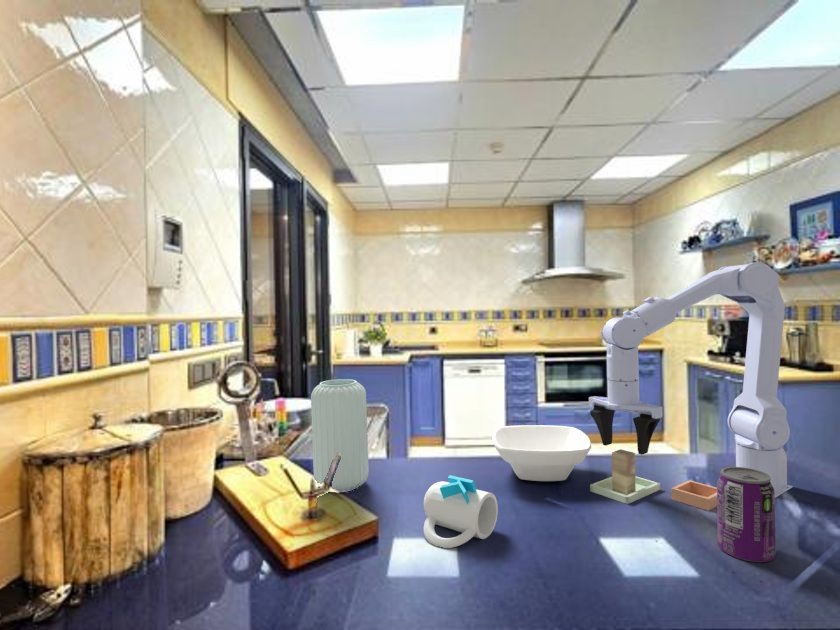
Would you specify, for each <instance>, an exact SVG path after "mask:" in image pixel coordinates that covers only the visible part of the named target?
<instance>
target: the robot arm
mask: <svg viewBox="0 0 840 630" xmlns="http://www.w3.org/2000/svg"><path fill="white" fill-rule="evenodd" d="M779 281H780V274H778V273H777V272H776V271H775V270H774V269H773V268H771V267H770V266H769V265H767V264H766V263H763V262H759V261H757V262H751V263H747V264H738V265H726V266H722V267H720V268H719V269H717V270H713V271H710V272H709V273H707V274H705V275H704V276H702V277H700V278H699V279H697V280H696V281H693V282H692V283H690V284H689V285H687V286H686V287H683V288H682V289H680V290H679V291H677V292H675V293H673V294H672V295H671V296H669V297H667V298H665V297H662V296H661V297H660V296H655V297H653V296H649V297H647V298H645V299H644V300H643V302H644V303H643V304H641V305H639V306H637V307H635V308H633V309H631V310H629V309H627V310H624V311H623V312H622V317H614V318H613V317H612V318H610V319H609V320H607V321H606V323H605V325H603V328H602V331H600V336H601V338H602V340H603V342H604V343H605V344H606V377H607V383H606V384H607V397H605V396H596V395H595V396H594V395H593V396H589V397H588V406H589V407H591V408H592V409H591V410H590V411H589V414H590V416H591V417H592V419H593V420H594V423H595V425H596V427H597V429H598V432H599V435H600V438H601V442H602V446H606V447H607V446H608V445H609V446H610V445H612V443H613V423H614V418H615V412H616V411H617V412H621V413H626V414H627V413H628V414H634V415H639V416H636V417H633V418H632V421H633V423H634V429H635V433H636V438H637V441H636V443H637V444H636V445H637V452H638V455H640V456H641V455H644V454H648V452H649V447H650V443H651V440H652V437H653V434H654V432H655V431H656V428H657V426H658V425H659V423H660V421H661V419H662V418H663V415H664V414H663V406H659V405H654V404H651V403H647V402H644V401H640V373H639V371H640V370H639V368H640V367H639V366H640V365H639V364H640V363H639V346H641V344H642V342H643V341H644V338H647V337H648V336H650V335H652V334H654V333H656V332H658V331H660V330H662V329H664V328H665V327H667V326H669V325H671V324H673V323H674V322H675V320H676V317H677V313H679V312H682V311H684V310H685V309H688V308H689V307H692V306H694V305H696V304H698V303H701V302H703V301H704V300H706V299H709V298H710V297H712V296H715V295H720V296H722V297H724V298H726V299H729V300H731V301H733V302H735V303H737V304H738V305H739V306H740V307H741V308H743V309H744V310H745V311H746V313H748V315H749V317H748V318H749V319H748V327H747V330H748V331H747V337H746V338H747V340H746V351H745V361H744V363H745V364H744V370H743V371H744V372H743V382H742V383H743V384H742V392H741V393H740V394H739V395H738V396H736V398H734V400H733V406H732V409H731V411H730V412H729V414H728V416H727V426H728V429H729V430H730V431H731V432H732V433H733V435H734V440H735V467H744V468H750V469H755V470H758V471H762V472H764V473H766V474H768V475H769V476H770V477H771V480H770V482H771V484H772V486H773V488H774V490H775V499H776V498H777V497H779V496H780V495H782V494H784V493H785V492H787V491H788V490H791V489H792V488H794V486H793V485H790V484H788V471H787V470H788V468H787V467H788V465H787V464H788V457H787V453H786V452H785V449H784V448H783V447H784V445H786V444H787V443H788V441H789V439H790V436H791V428H790V425H789V423H788V422H789V421H788V420H787V419H788V418H787V414H788V412H787V409H786V407H785V406H784V405H783V404H782V403H781V401H780V400H779V398H778V387H779V375H780V374H779V373H780V365H781V354H782V344H783V343H782V342H783V341H782V340H783V331H784V320H785V311H786V310H785V309H786V307H785V306H786V305H785V301H784V298H783V296H782V293H781V291H780V289H779V283H780V282H779Z"/></svg>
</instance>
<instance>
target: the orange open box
mask: <svg viewBox="0 0 840 630" xmlns="http://www.w3.org/2000/svg"><path fill="white" fill-rule="evenodd" d="M670 495H671V496H670V498H671V500H673V501H676V502H679V503H682V504H685V505H689V506H691V507H694V508H697V509H701V510H703V511H707V512H709V511H711V510H713V509H715V508H717V486H712V485H709V484H704V483H701V482H697V481H695V480H690V479H689V480H686V481H685V482H683V483H680V484H677V485H676V486H674V487H673V486H672V487H671V488H670Z"/></svg>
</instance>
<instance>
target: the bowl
mask: <svg viewBox="0 0 840 630" xmlns="http://www.w3.org/2000/svg"><path fill="white" fill-rule="evenodd" d="M491 441H492V443H493V445H494V447H495V449H496V451H497V452H498V453H499V456H500V458H502V459H501V460H503V461H504V462H505V463H509V465H510V466H511V468H512V470H513V472H514V474H515V475H516V476H517V477H518V479H520V480H525V481H533V482H534V481H535V482H557V481H558V482H561V481H566V480H567V478H568V477H569V476H570V474H571V472H572V471H573V469H574V468H575V466H576V465H581V464H582V463H583V461H584V460H585V459H586V457H587V455H588V454H589V452H590V451H591V449H592V441H591V440H590V437H589V436H588V435H587V434H586V433H585V432H583V431H582V430H581V429H578V428H576V427H574V426H565V425H564V426H563V425H547V424H546V425H545V424H544V425H541V424H539V425H537V424H536V425H535V424H534V425H533V424H529V425H528V424H527V425H526V424H524V425H523V424H521V425H505V426H499V427H497V428H496V429H495V430H494V431H493V433H492V436H491Z"/></svg>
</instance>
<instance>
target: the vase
mask: <svg viewBox="0 0 840 630" xmlns="http://www.w3.org/2000/svg"><path fill="white" fill-rule="evenodd" d="M366 391H367V390H366V389H365V386H364V385H362V384H361V383H359V382H358V381H357V380H355V379H347V378H343V379H341V378H340V379H328V380H324V381H320V382H319V384H318V385H316V386H315V387H314V388H313V390H312V391H311V394H310V407H311V408H310V411H311V413H310V414H311V436H312V440H311V441H312V462H313V463H312V464H313V465H312V466H313V479H314V481H315V480H316V481H317V483H320V484H322V483H323V481H324V479H325V477H326V475H327V473H328V471H329V468H330V465H331V462H332V460H333V458H334V456H335V454H336V453H337V452H339V453H340V455H341V460H340V462H339V465H338V468H337V470H336V473H335V475H334V478H333V481H332V488H333V489H336V490H339V491H343V490H347V491H348V490H352V489H354V488H357V489H359V488H360V487H361V486H362V485H364V484H365V482H366V481H367V479H368V477H369V473H370V472H369V468H370V467H369V466H370V465H369V446H368V445H369V440H368V435H369V434H368V414H367V411H368V408H367V407H368V406H367V392H366ZM359 486H360V487H359ZM358 487H359V488H358Z"/></svg>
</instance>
